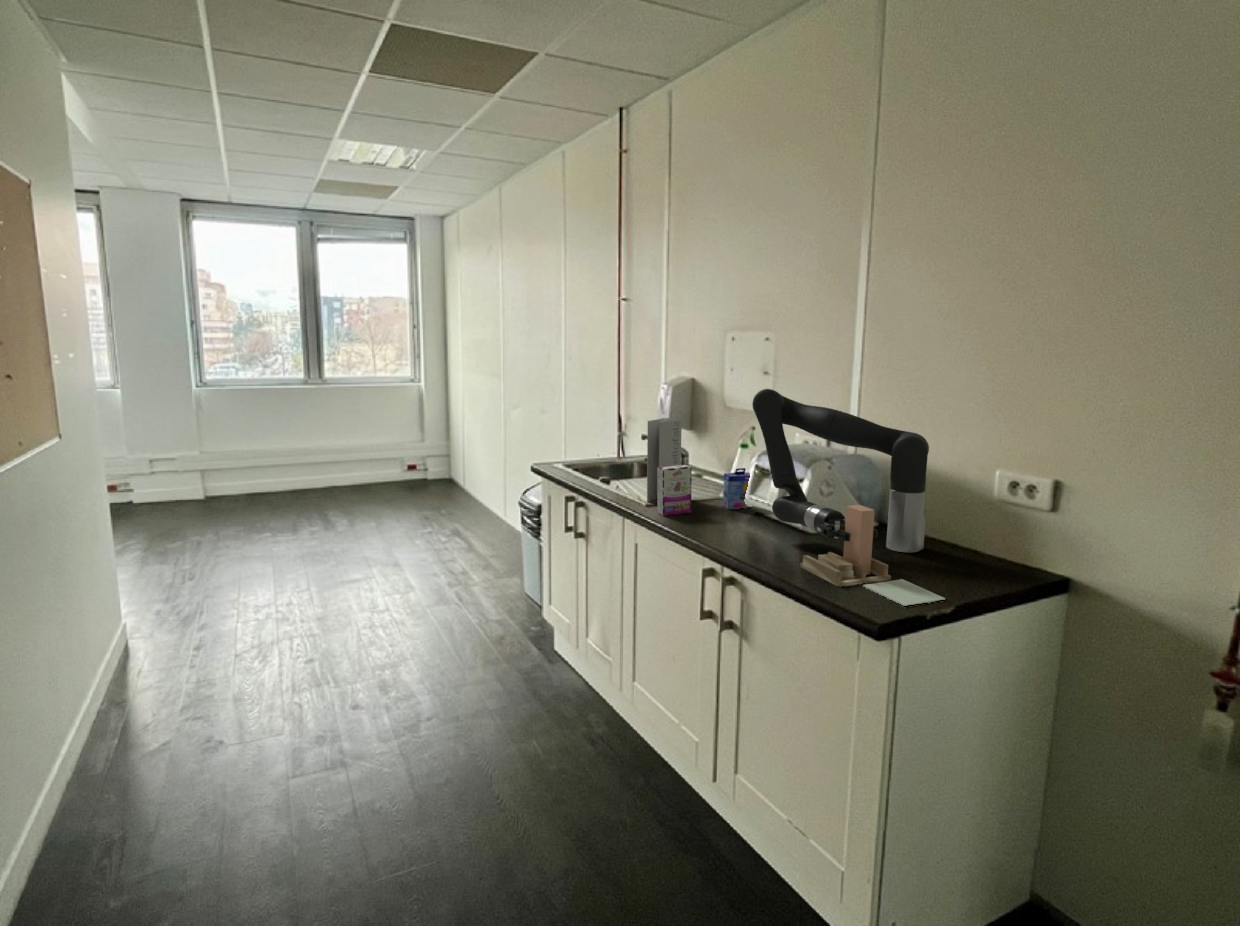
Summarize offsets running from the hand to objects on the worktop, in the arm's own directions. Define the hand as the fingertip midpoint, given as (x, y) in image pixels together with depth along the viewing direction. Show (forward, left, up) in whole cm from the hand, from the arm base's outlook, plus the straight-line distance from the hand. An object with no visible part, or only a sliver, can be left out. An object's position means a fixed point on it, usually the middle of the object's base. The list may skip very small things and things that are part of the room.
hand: (863, 536), depth 180 cm
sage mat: (0, +15, -10) cm, 18 cm away
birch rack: (+4, -2, -10) cm, 11 cm away
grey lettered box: (+14, -94, -10) cm, 95 cm away
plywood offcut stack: (+7, -2, -10) cm, 12 cm away
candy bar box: (+19, -74, -10) cm, 77 cm away
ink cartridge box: (-6, -74, -10) cm, 75 cm away
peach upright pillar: (0, -2, -10) cm, 10 cm away
